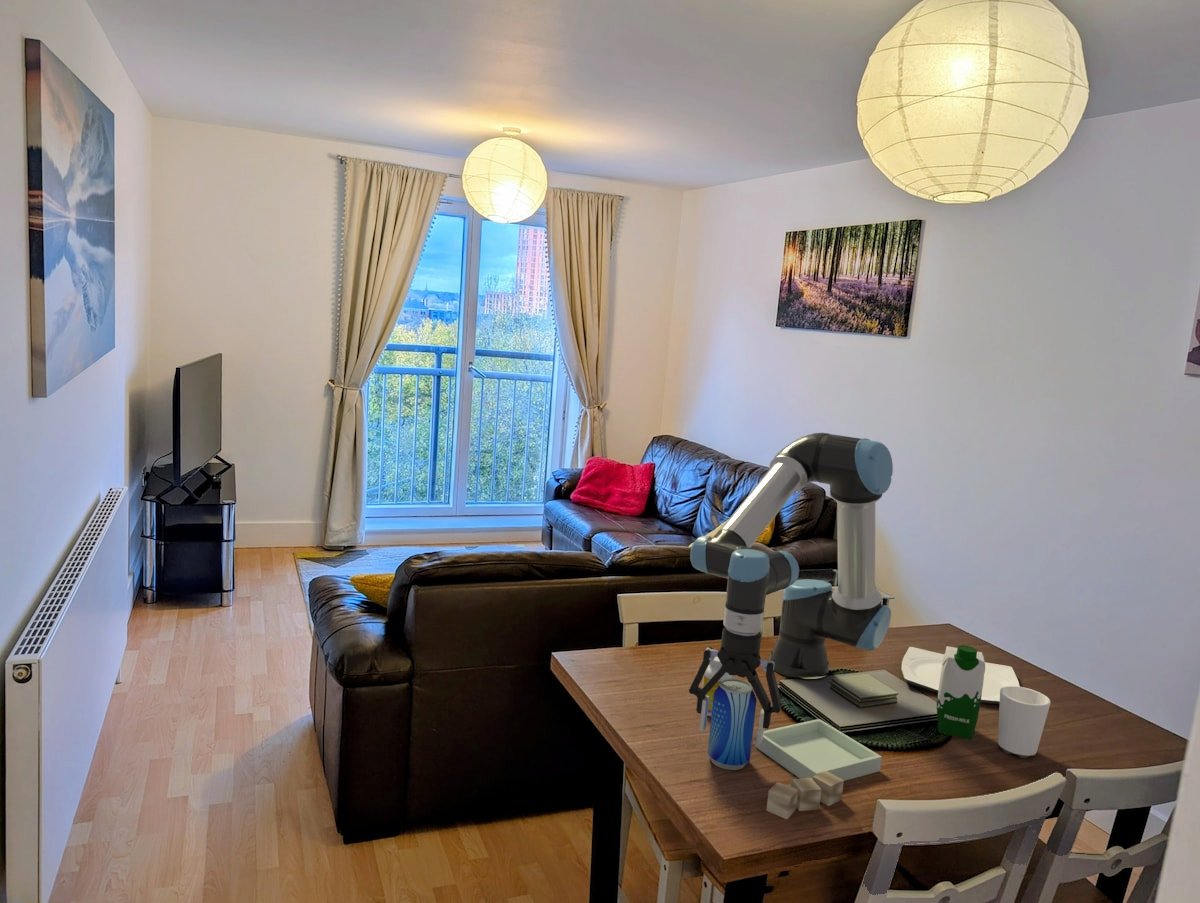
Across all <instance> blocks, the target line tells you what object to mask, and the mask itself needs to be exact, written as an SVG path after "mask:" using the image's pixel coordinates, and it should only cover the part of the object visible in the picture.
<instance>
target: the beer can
mask: <svg viewBox="0 0 1200 903" xmlns="http://www.w3.org/2000/svg"><path fill="white" fill-rule="evenodd" d="M757 700H758V698H757V696H756V694H755V692H754V690H753V688H752V686H751V684H750V683H749V681H746V680H742V679H738V678H733V679H724V680H722V681H720V684H719V686H718V688H717V689H716V690H715V692H714V696H713V706H712V716H711V717H710V726H709V734H708V735H709V736H708V745H707V746H708V747H707V756H709V758H710V761H711V763H713V764H714V765H715V766H716V767H718V768H720V769H724V770H728V771H738V770H741V769H743V768H744V767H745V766H746V765H747V764H748V763H749V762H750V760H751V755H752V745H753V736H754V727H755V717H756V711H757Z"/></svg>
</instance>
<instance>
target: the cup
mask: <svg viewBox="0 0 1200 903" xmlns="http://www.w3.org/2000/svg"><path fill="white" fill-rule="evenodd" d="M1051 702H1052V701H1051V700H1050V698H1049V696H1046V695H1045V694H1043V693H1042V692H1039V691H1037V690H1034V689H1031V688H1027V687H1024V686H1020V687H1018V686H1005V687H1002V688H1001V689H1000V704H998V705H999V709H998V710H999V711H998V713H999V714H998V730H997V731H998V732H997V733H998V734H997V745H998V747H999V748H1001V749H1002V751H1003V752H1004V753H1005V754H1007V755H1011V754H1014V755H1016V756H1018V757H1019V758H1021V759H1027V758H1028V757H1036V754H1037V751H1038V748H1039V745H1040V742H1041V739H1042V734H1043V731H1044V728H1045V724H1046V721H1047V717H1048V713H1049V710H1050V707H1051V704H1052V703H1051Z"/></svg>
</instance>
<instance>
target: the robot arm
mask: <svg viewBox="0 0 1200 903" xmlns="http://www.w3.org/2000/svg"><path fill="white" fill-rule="evenodd" d="M893 467H894V464H893V458H892V455H891V452H890V450H889V448H888V447H887V446H886V444H884V443H883V442H879V441H874V440H871V439H869V438H865V437H864V438H861V437H860V438H858V437H854V436H853V437H852V436H845V435H841V434H840V435H839V434H831V433H828V432H816V433H811V434H807V435H804V436H802V437H800V438H798V439H796V440H794V441H792V442H791V443H789V444H787V445H786V446H785V447H783V448H782V449H781V450H780V451H778V453H776V455H775V456H773V459H771V461H770V463H769V467H768V468H769V470H768V471H767V473H766V474H765V475H764V476H763V477H762V478H761V479H760V481H759V482H758V483H757V485H756V486H755V487H753V489H752V491H750V492H749V494H748V496H747V497H746V498H745V499H744V500H743V501H742V503H741V504H740V505H739V506H738V508H736V510H735V511H734V512H733V514H732V515H731V516H729V518H728V520H727V521H726V522H725V523H724V524H723V526H721V528H720V529H719V530H718V531H717V532H716V533H715V534H714V536H713V537H712V536H706V535H701V536H699V537H697V538H696V539H695V541H694V542H693V543H692V545H691V549H690V554H689V555H690V557H689V559H690V562H691V566H692V567H693V568H694V569H695V570H698V571H700V572H703V573H705V574H707V575H710V576H711V575H713V576H716V577H719V578H723V579H727V583H726V584H727V585H726V596H725V597H726V599H725V605H724V611H723V612H724V613H723V623H722V624H723V626H724V627H722V632H721V642H720V643H721V644H720V648H719V650H718V649H714V648H712V647H711V646H707V647H706V649H705V650H704V651H703V658H702V663H701V664H700V665H699V669H698V671H697V673H696V674H695V677H694V679H693V681H692V683H691V685H690V687H689V689H688V693H689V694H691V695H694V696H696V698H697V700H696V713H697V714H699V715H700V720H699V721H700V722H699V730H698V731H699V732H703V733H704V731H705V729H706V728H707V724H708V723H707V722H708V721H707V720H708V716H707V714H708V704H709V696H707V695H706V694H707V693H708V692H709V691H710V689H711V688H712V687H713V686H714V685H715V684H716V683H717V682H718V681H719V679H720V678H721V677H722V676H723V675H724V674H725V673H726V672H727V673H729V675H733V676H737V677H740V678H742V679H745V678H746V679H747V682H748V683H750V684H751V686H752V688H753V692H754V694H755V696H756V699H757V700H758V702H759V704H760V706H761V710H760V712H759V718H758V729H757V732H758V736H757V745H761V743H762V740H763V733H764V731H765V729H766V730H769V727H770V725H771V721H772V720H771V719H772V714H773V713H776V714H779V713H780V711H781V709H782V707H783V704H782V700H781V695H780V691H779V687H778V681H777V679H776V678H777V677H776V673H778V674H780V675H782V676H786V677H788V678H792V677H794V676H815V675H821V674H826V673H828V674H829V672H830V662H829V660H828V653H827V648H826V639H828V640H832V641H835V642H839V643H842V644H844V645H848V646H851V647H855V649H860V650H861V649H862V650H865V651H868V652H869V651H874V650H876V649H877V648H878V647H879V646H880V645H881V644H882V643H883V640H884V639H885V637H886V635H887V632H888V629H889V627H890V623H891V617H892V611H891V608H890V607H889V606H887V605H885V604H882V603H883V602H882V601H883V600H882V594H881V592H880V591H879V590H878V589H877V588H876V503H877V502H878V501H880V500H881V499H882V497H883V494H885V493H886V492H887V491H888V490H889V488H890V486H891V483H892V476H893V471H894V468H893ZM813 482H814V483H815V482H816V483H820V484H821V483H822V484H825V485H829V490H830V491H829V494H830V497H831V498H832V499H833V500H834V502H836V519H837V520H836V521H837V523H836V524H837V525H836V526H837V584H838V585H837V587H836V588H834V589H833V585H832V584H831V583H830V582H829V581H826V580H819V579H809V578H807V579H806V578H805V579H798V577H799V575H800V574H799V573H800V566H799V562H798V560H797V559H796V557H794V555H792V554H791V553H790V552H788V551H786V550H785V551H784V550H780V551H779V550H775V551H771V552H769V551H763V550H761V549H756V548H753V545H754V544H755V542H757V540H758V539H759V537H760V536H761V535H762V534H763V533H764V531H765V530H766V529H767V528H768V526H769V525H770V524H771V522H773V520H774V519H775V517H776V516H777V515H778V513H779V512H780V511H781V510H782V509H783V507H784V506H785V504H786V503H787V502H788V501H789V500H790V498H791V497H792V496H793V494H794V493H796V491H799V490H803V488H805V486H806V485H807V484H808V483H813ZM832 590H833V591H832ZM778 591H783V596H782V598H781V600H782V601H781V602H782V604H781V613H780V621H779V622H780V624H779V633H778V637H777V639H776V642H775V644H774V646H773V648H772V650H771V652H770V654H769V658H768V659H769V660H767V659H763V658H761V654H760V651H761V650H760V649H761V642H762V633H761V631H762V630H763V626H764V623H763V622H764V616H765V604H766V597H767V596H768V595H771V594H772V593H775V592H778ZM715 657H718V659H719V660H720V662H721V664H722V666H721V667H720V669H719V670H718V671H717V672H716V673H715V674H714V675H713V677H712V678H711V679H710V680H709V681H708V682H707V683H706V684H705V686H704V687H703V688H702V687H699V686H700V684H701V683H702V681H703V676H704V674H705V672H706V670H707V668H708V666H709V665H710V661H713V660H714V658H715ZM760 666H761V667H762V671H763V672H765V677H766V678H765V679H766V681H767V686H768V690H769V691H768V692H769V695H770V698H769V696H768V695H767V691H766V690H765V688H764V686H763V684H762V682H761V680H760V678H759V674H758V672H757V669H758V668H759V667H760ZM775 672H776V673H775ZM705 695H706V696H705ZM770 699H771V700H770Z"/></svg>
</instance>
